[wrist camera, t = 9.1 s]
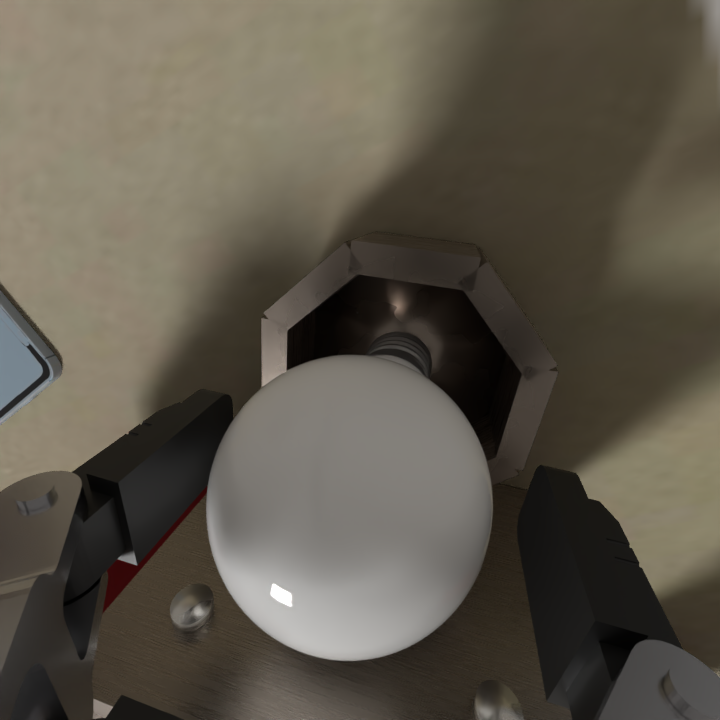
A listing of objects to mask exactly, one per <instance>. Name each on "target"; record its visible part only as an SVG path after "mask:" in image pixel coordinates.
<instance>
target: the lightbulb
mask: <svg viewBox="0 0 720 720" xmlns="http://www.w3.org/2000/svg"><path fill="white" fill-rule="evenodd" d="M431 369H432V358H431V355H430V352H429V350H428V348H427V347H426V345H425V344H424V343H423V342H422V341H421V340H420V339H418V338H417V337H415V336H413V335H411V334H408V333H405V332H390V333H386V334H384V335H382V336H380V337H378V338H377V339H376V340H375V341H374V342H373V343H372V344H371V346H370V347H369V349H368V351H367V353H366V354H365V355H354V354H350V355H335V356H328V357H323V358H319V359H315V360H311V361H308V362H305V363H303V364H300V365H298V366H296V367H293V368H291V369H289V370H287V371H285V372H284V373H282V374H280V375H279V376H277V377H275V378H274V379H272V380H271V381H270V382H268V383H267V384H266V385H264V386H263V387H262V388H261V389H260V390H258V391H257V392H256V393H255V394H254V395H253V396H252V397H251V398H250V399H249V400H248V401H247V402H246V403H245V405H244V406H243V407H242V408H241V409H240V411H239V412H238V413H237V415H236V416H235V417H234V419H233V420H232V422H231V423H230V425H229V427H228V428H227V430H226V432H225V434H224V436H223V438H222V440H221V442H220V444H219V447H218V449H217V452H216V454H215V457H214V460H213V464H212V467H211V471H210V476H209V481H208V487H207V496H206V522H207V532H208V538H209V543H210V547H211V551H212V555H213V558H214V561H215V564H216V567H217V569H218V572H219V574H220V576H221V578H222V581H223V583H224V584H225V586H226V588H227V590H228V592H229V593H230V595H231V596H232V598H233V599H234V601H235V602H236V603H237V605H238V606H239V607H240V609H241V610H242V611H243V612H244V613H245V614H246V615H247V617H248V618H249V619H250V620H251V621H252V622H253V623H255V624H256V625H257V626H258V627H259V628H260V629H261V630H263V631H264V632H265V633H267V634H268V635H269V636H271V637H272V638H274V639H275V640H277V641H279V642H280V643H282V644H284V645H286V646H288V647H290V648H292V649H294V650H296V651H299V652H301V653H304V654H307V655H310V656H314V657H318V658H322V659H328V660H335V661H362V660H370V659H375V658H380V657H384V656H388V655H391V654H394V653H396V652H399V651H401V650H404V649H406V648H408V647H410V646H412V645H414V644H416V643H417V642H419V641H421V640H422V639H424V638H425V637H427V636H428V635H430V634H431V633H432V632H434V631H435V630H436V629H438V628H439V627H440V626H441V625H442V624H443V623H444V622H445V621H446V620H447V619H448V618H449V617H450V616H451V615H452V614H453V613H454V612H455V611H456V610H457V608H458V607H459V606H460V605H461V603H462V602H463V600H464V599H465V598H466V596H467V595H468V593H469V591H470V590H471V588H472V586H473V585H474V583H475V581H476V579H477V577H478V575H479V572H480V570H481V567H482V565H483V562H484V559H485V556H486V553H487V549H488V545H489V541H490V536H491V529H492V520H493V491H492V483H491V477H490V472H489V467H488V464H487V460H486V457H485V454H484V451H483V448H482V446H481V443H480V441H479V439H478V437H477V435H476V433H475V431H474V429H473V427H472V425H471V424H470V422H469V421H468V419H467V417H466V416H465V415H464V413H463V412H462V410H461V409H460V408H459V407H458V405H457V404H456V403H455V402H454V401H453V400H452V399H451V398H450V397H449V396H448V394H446V393H445V392H444V391H443V390H442V389H441V388H440V387H439V386H437V385H436V384H435V383H434V382H432V381H431V380H430V375H431Z"/></svg>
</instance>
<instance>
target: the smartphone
mask: <svg viewBox="0 0 720 720" xmlns="http://www.w3.org/2000/svg"><path fill="white" fill-rule="evenodd" d="M61 373H62V367H61V364H60V362H59V360H58V358H57V357H56V355H55V354H54V353H53V352H52V351H51V350H50V348H49V347H48V346H47V345H46V344H45V342H44V341H43V340H42V339H41V338H40V337H39V335H38V334H37V333H36V332H35V331H34V329H33V328H32V327H31V326H30V325H29V324H28V322H27V321H26V320H25V319H24V318H23V316H22V315H21V314H20V313H19V312H18V311H17V309H16V308H15V307H14V306H13V305H12V303H11V302H10V301H9V300H8V299H7V298H6V296H5V295H4V294H3V293H2V292H1V290H0V425H1V424H2V423H3V422H5V421H6V420H7V419H8V418H10V417H11V416H12V415H13V414H15V413H16V412H17V411H18V410H19V409H21V408H22V407H23V406H25V405H27V404H28V403H29V402H30V401H31V400H33V399H34V398H35V397H36V396H37V395H38V394H39V393H40V392H42V391H43V390H44V389H45V388H47V387H48V386H49V385H50V384H51V383H53V382H54V381H55V380H56V379H58V378H59V377H60V376H61Z"/></svg>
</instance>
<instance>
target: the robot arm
mask: <svg viewBox="0 0 720 720" xmlns="http://www.w3.org/2000/svg"><path fill="white" fill-rule="evenodd" d="M232 420H233V404H232V399H231V397H230V396H229V395H227V394H223V393H218V392H214V391H209V390H205V389H201V390H199V391H197V392H196V393H194V394H193V395H192V396H190V397H189V398H188V399H186V400H185V401H183V402H182V403H177V404H174V405H172V406H169V407H167V408H164V409H162V410H159V411H158V412H156V413H155V414H153V415H152V416H151V417H149V418H148V419H146V420H145V421H143V423H142V425H140V424H139V425H138V426H136V427H135V428H134V429H132V430H131V431H129V434H128V435H127V434H125V435H124V436H122V437H121V438H119V439H118V440H117V441H115V442H114V443H112V444H111V445H110V446H108V447H107V448H105V449H104V450H103V451H101V452H100V453H98V454H97V455H95V456H94V457H93V458H91V459H90V460H88V461H87V462H86V463H84V464H83V465H81V466H80V467H79V468H77V469H76V470H74V471H73V472H68V471H50V472H44V473H39V474H36V475H33V476H30V477H27V478H24V479H22V480H20V481H18V482H16V483H14V484H12V485H10V486H8V487H7V488H5V489H4V490H2V491H1V492H0V720H184V719H181V718H179V717H176V716H174V715H171V714H169V713H166V712H164V711H161V710H159V709H156V708H154V707H151V706H149V705H146V704H144V703H141V702H139V701H136V700H134V699H131V698H129V697H126V696H124V695H121V696H120V698H119V699H118V701H117V702H116V703H115V705H114V706H113V708H112V709H111V711H110V712H109V714H108V715H107V717H106V718H98V719H93V687H92V674H93V665H94V659H95V653H96V647H97V641H98V636H99V630H100V624H101V618H102V613H103V607H104V601H105V595H106V590H107V584H108V572H107V570H108V569H109V567H110V566H111V565H112V564H113V563H114V562H115V561H116V560H117V559H119V560H122V561H125V562H128V563H131V564H134V565H138V564H139V563H140V562H141V561H142V560H143V558H144V557H145V556H146V555H147V554H148V553H149V552H150V550H151V549H152V548H153V547H154V546H155V545H156V544H157V542H158V541H159V540H160V539H161V538H162V537H163V536H164V534H165V533H166V532H167V531H168V530H169V529H170V528H171V526H172V525H173V524H174V523H175V522H176V521H177V520H178V518H179V517H180V516H181V515H182V514H183V513H184V512H185V510H186V509H187V508H188V507H189V506H190V505H191V503H192V502H193V501H194V500H195V499H196V498H197V497H198V495H199V494H200V493H201V492H202V491H203V490H204V489H205V487H206V486H207V485H208V481H209V476H210V471H211V467H212V464H213V460H214V457H215V454H216V452H217V449H218V447H219V444H220V442H221V440H222V438H223V436H224V434H225V432H226V430H227V428H228V427H229V425H230V423H231V422H232ZM517 539H518V545H519V551H520V557H521V562H522V568H523V573H524V579H525V584H526V590H527V595H528V601H529V607H530V612H531V618H532V623H533V629H534V634H535V640H536V645H537V651H538V657H539V662H540V668H541V673H542V679H543V684H544V690H545V695H546V701H547V702H549V703H553V704H556V705H559V706H562V707H565V708H568V709H570V711H571V716H572V720H720V677H719V676H717V675H716V674H715V673H714V672H713V671H712V670H711V669H710V668H709V667H707V666H706V665H705V664H704V663H702V662H701V661H700V660H698V659H697V658H695V657H694V656H693V655H691V654H690V653H688V652H686V651H684V650H683V649H682V647H681V645H680V643H679V641H678V639H677V637H676V635H675V633H674V631H673V629H672V627H671V625H670V623H669V621H668V619H667V617H666V615H665V613H664V611H663V609H662V607H661V605H660V603H659V601H658V599H657V597H656V595H655V593H654V591H653V589H652V587H651V585H650V583H649V581H648V579H647V577H646V575H645V573H644V571H643V569H642V568H640V567H639V561H638V559H637V557H636V556H635V554H634V552H633V550H632V548H630V547H629V542H628V540H627V538H626V536H625V534H624V532H623V530H622V528H621V526H620V524H619V522H618V521H617V520H616V519H615V518H614V516H613V515H612V514H611V513H610V512H609V511H608V510H607V509H606V508H605V507H604V506H603V505H602V504H601V503H600V502H599V501H596V500H592V499H588V497H587V494H586V492H585V490H584V488H583V485H582V483H581V481H580V479H579V477H578V475H577V474H576V473H574V472H569V471H565V470H560V469H556V468H551V467H547V466H542V465H540V466H539V467H538V468H537V469H536V471H535V473H534V476H533V479H532V481H531V484H530V487H529V489H528V492H527V494H526V497H525V500H524V502H523V505H522V507H521V510H520V513H519V517H518V523H517Z"/></svg>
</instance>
